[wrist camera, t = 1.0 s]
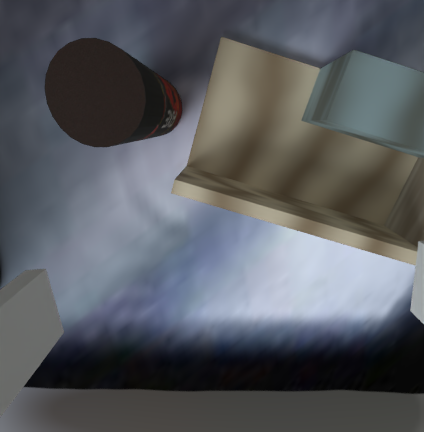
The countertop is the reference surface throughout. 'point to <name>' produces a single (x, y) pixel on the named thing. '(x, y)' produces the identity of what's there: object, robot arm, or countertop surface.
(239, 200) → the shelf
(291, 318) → the countertop surface
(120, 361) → the countertop surface
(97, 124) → the deodorant
